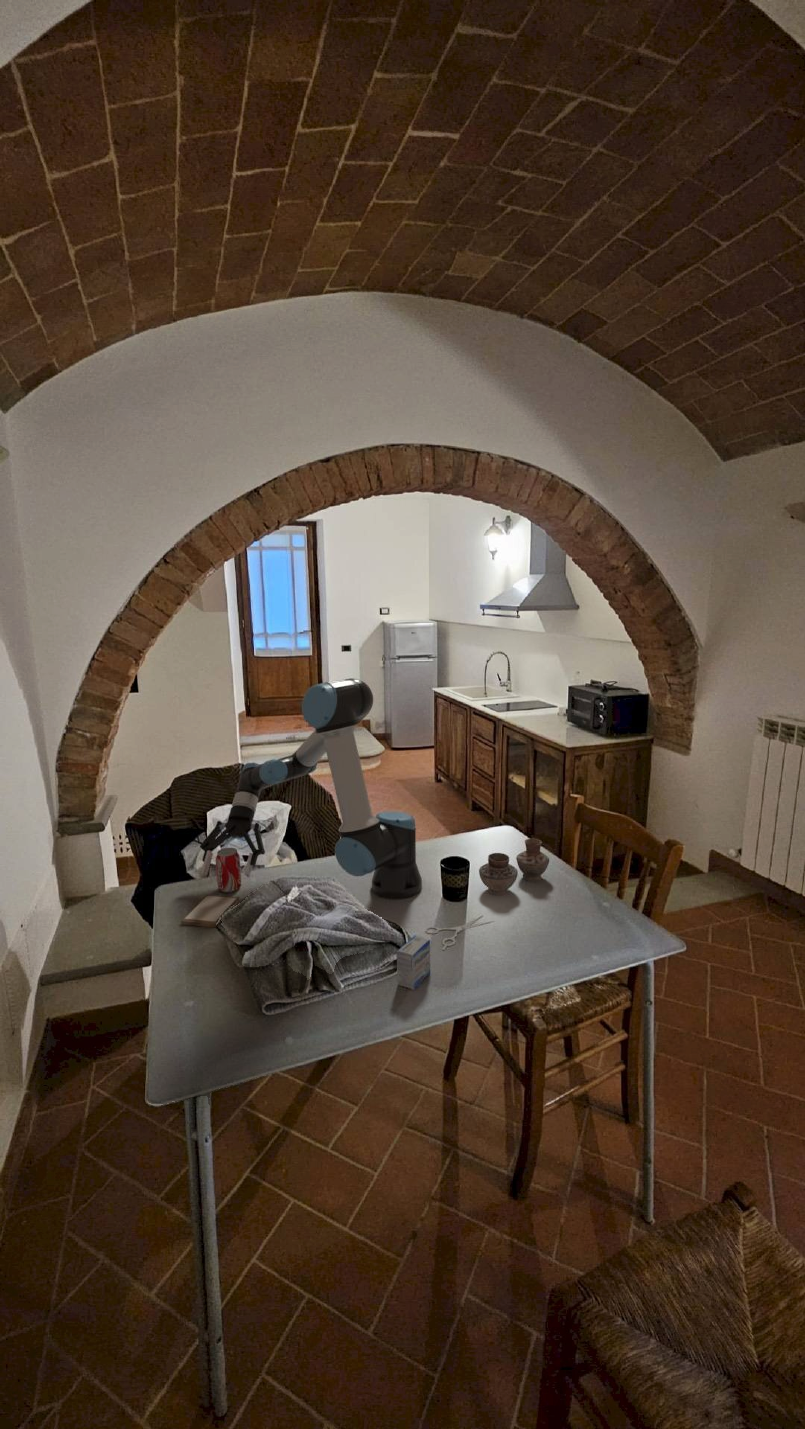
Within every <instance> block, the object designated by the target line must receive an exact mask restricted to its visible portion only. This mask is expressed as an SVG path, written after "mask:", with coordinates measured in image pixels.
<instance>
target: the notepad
mask: <svg viewBox="0 0 805 1429" xmlns="http://www.w3.org/2000/svg"><path fill="white" fill-rule="evenodd" d="M237 902H238V903H239V902H240V896H227V895H214V894H206V895H205V896H204V897H203V898H202V900H200V902H198V903H197V904H196V905H195V906H194V908H192V910H191V911H190V912H188V913H187V914H186V916H184V918H182V919H181V921H180V923H181V925H185V926H194V927H195V926H196V927H206V928H207V927H209V928H217V927H216V923H217V922H218V920H219V918H220V917H222V914H223V913H224V911H225V910H226V909H228V908H229V907H231V906H233V905H235V904H236V903H237ZM238 903H237V904H238ZM237 904H236V905H237ZM236 905H235V906H236Z"/></svg>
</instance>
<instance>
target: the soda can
mask: <svg viewBox="0 0 805 1429" xmlns="http://www.w3.org/2000/svg"><path fill="white" fill-rule="evenodd" d="M241 867H242V866H241V858H240V854H239V853H238V850H237V848H234V847H225V848H221V849H219V850H218V851H217V853H216V857H215V873H216V882H217V889H218V890H219V891H221V892H223V893H226V892H229V893H233V892H232V891H234V892H236V891H237V890H239V889H240V888H241V886H242V870H241ZM235 890H236V891H235Z"/></svg>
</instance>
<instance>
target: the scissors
mask: <svg viewBox="0 0 805 1429" xmlns="http://www.w3.org/2000/svg"><path fill="white" fill-rule="evenodd" d="M482 917H483V915H481V916H479V917H476V918H475V919H472V920H470V921H469V922H467V923H465V924H464V925H458V926H454V927H442V928H440V927H436V926H429V927H426V928H425V930H424V931H425V932H424V933H426V934H429V935H435V934H438V933H439V932H441V931H444V930H445V931H455V934H454V935H453V936H452V937H445V938H444V939H443V940H442V945H443V947H442V948H441V951H443V952H444V951H446V948H448V947H453V946H454V945H455V944H456V940H455V939H456V938H457V937H458V934H459V933H461V932H462V931H464V930H467V929H471V928H474V927H475V928H476V927H478V926H483V925H485V924H486V925H487V924H491V923H492V922H494V920H493V921H486V922H481V923H477V924H474V923H475V922H477V921H478V920H480V919H481V918H482ZM431 929H432V930H433V929H435V931H428V930H431ZM447 941H452V942H451V943H449V944H448V943H446V942H447Z"/></svg>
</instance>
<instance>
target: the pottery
mask: <svg viewBox="0 0 805 1429" xmlns="http://www.w3.org/2000/svg"><path fill="white" fill-rule="evenodd" d="M524 844H525V850H524V851H522V852H520V853H519V854H517V855H516V858H515V859H516V864H517V866H518V869H519V870H520V872H521V873H522V878H523V879H524V880H526V881H529V882H539V881H541V880H542V875H543V874H544V873H545V872H546V870H547V868H548V866H549V863H550V858H549V856H547V855H546V854H545V853H543V852H542V851H541V847H542V844H543V842H542V840H540V839H538V838H526V839H525V840H524ZM509 862H510V856H509V855H508V854H505V853H502V852H493V853H491V854H489V855H488V856H487V863H485V864H483V865H481V866H480V867H479V870H478V873H479V874H478V875H479V878H480V880H481V881H482V883H483V884H484V886H485V887H486V888H487V889H488V892H489V893H490V894H491V895H495V896H503V895H505V894H507V893H508V890H509V889H510V888H511V887H512V886H513V885H514V884H515V883H516V880H517V878H518V869H517V868H516V867H515V866H514V865H512V864H510V863H509Z"/></svg>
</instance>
